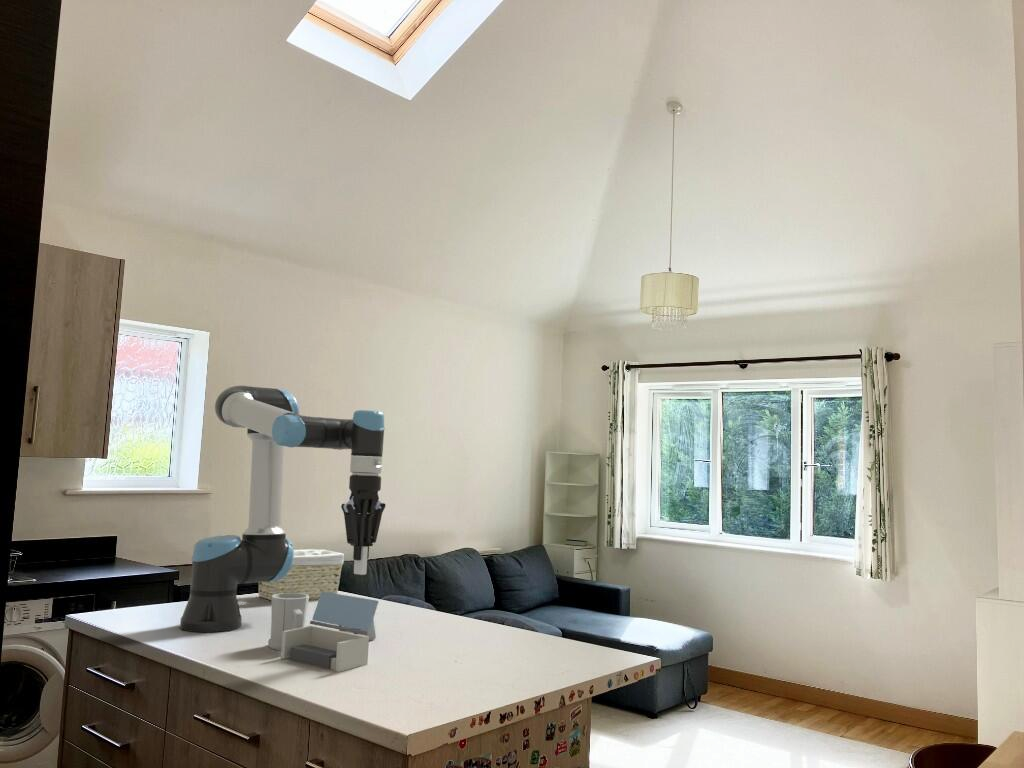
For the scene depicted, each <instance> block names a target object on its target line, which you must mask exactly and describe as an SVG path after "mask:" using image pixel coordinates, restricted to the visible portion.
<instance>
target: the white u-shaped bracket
mask: <svg viewBox="0 0 1024 768" xmlns="http://www.w3.org/2000/svg"><path fill="white" fill-rule="evenodd" d="M369 643H370V641H369V637H368V636H363V635H358V634H353V633H348V632H343V631H339V630H338V629H333V628H328V627H323V626H318V625H313V624H310V625H308V626H306V625H305V627H301V628H296V629H291V630H286V631H283V634H282V649H281V650H280V651H281V652H280V653H281V654H280V659H281V660H286V659H290V652H291V647H294V646H298V645H303V644H306V645H310V646H315V647H319V648H324V649H329V650H333V651H337V655H336V670H335V672H337V673H339V672H343V671H348V670H351V669H354V668H359V667H362V666H365V665H366V666H367V665H368V662H369V661H368V660H369V645H370V644H369Z"/></svg>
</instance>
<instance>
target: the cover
mask: <svg viewBox="0 0 1024 768" xmlns="http://www.w3.org/2000/svg"><path fill="white" fill-rule="evenodd" d="M378 605H379V601H378V600H376V599H370V598H363V597H359V596H358V597H357V596H352V595H347V594H346V595H345V594H339V593H337V594H334V593H328V592H321V595H320V598H319V599H318V601H317V604H316V607H315V610H314V613H313V616H312V619H311V620H310V621H309V623H310V625H313V626H318V627H323V628H328V629H333V630H338V631H339V630H343V631H348V632H353V633H358V634H364V635H368V631H370V628H371V625H372V621H373V618H374V617H375V614H376V611H377V608H378ZM339 625H340V626H339ZM343 626H345V627H343ZM347 627H350V628H347ZM352 628H355V629H352ZM357 629H361V630H357ZM363 630H366V631H363Z"/></svg>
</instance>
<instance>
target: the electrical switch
mask: <svg viewBox="0 0 1024 768" xmlns="http://www.w3.org/2000/svg"><path fill="white" fill-rule="evenodd" d="M338 626H340V625H338ZM342 627H345V626H342ZM375 627H376V626H375V619H374V618H373V621H372V625H371V628H370V631H368V635H364V634H358V633H353V632H348V631H343V630H338V631H343V632H348V633H353V634H358V635H363V636H368V637H369V642H370V641H373V640H376V637H377V635H376V628H375ZM347 628H350V627H347ZM352 629H355V628H352ZM357 630H361V629H357ZM363 631H366V630H363Z"/></svg>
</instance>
